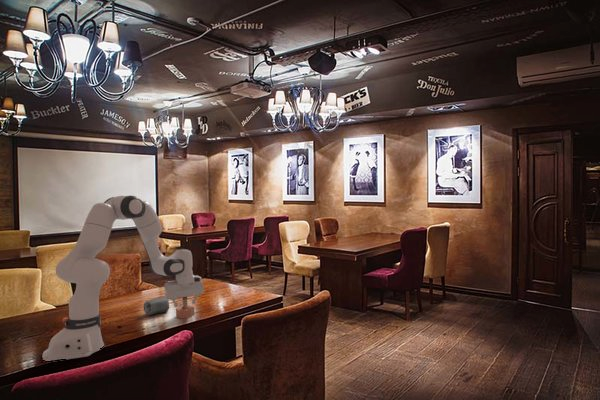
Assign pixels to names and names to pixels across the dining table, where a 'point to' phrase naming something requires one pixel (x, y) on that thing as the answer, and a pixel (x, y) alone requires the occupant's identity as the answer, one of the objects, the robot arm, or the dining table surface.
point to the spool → (156, 306)
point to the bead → (185, 312)
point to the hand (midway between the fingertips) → (185, 304)
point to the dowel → (184, 302)
